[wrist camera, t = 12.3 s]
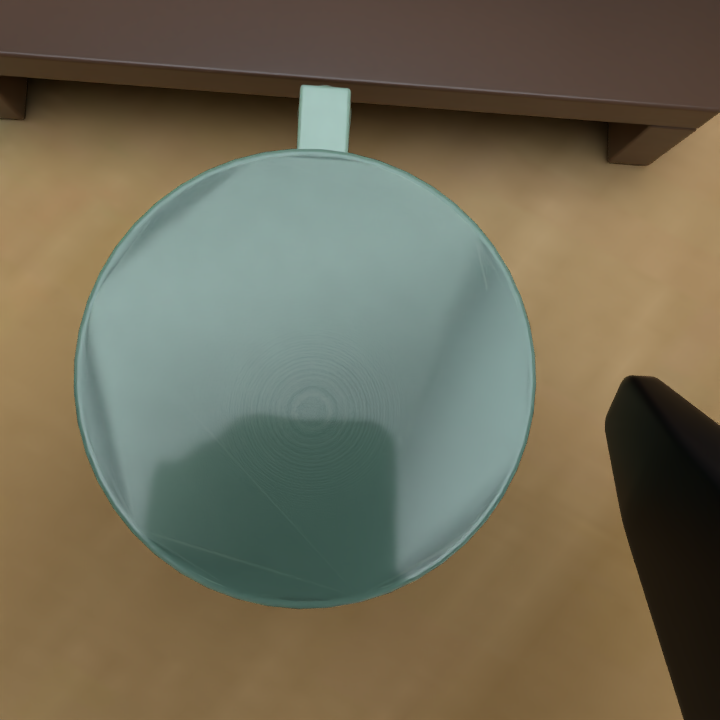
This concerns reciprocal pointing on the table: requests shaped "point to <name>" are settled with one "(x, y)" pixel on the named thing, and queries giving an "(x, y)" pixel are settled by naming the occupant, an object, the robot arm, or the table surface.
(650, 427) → the robot arm
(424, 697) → the table surface
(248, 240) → the green mug
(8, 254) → the table surface
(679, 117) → the shelf
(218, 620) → the table surface
